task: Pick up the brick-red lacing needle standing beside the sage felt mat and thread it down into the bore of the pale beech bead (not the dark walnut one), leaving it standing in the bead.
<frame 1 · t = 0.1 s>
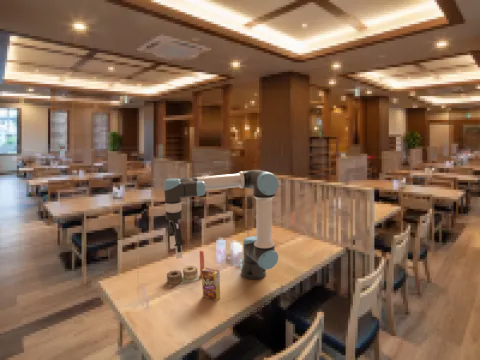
hand: (176, 252, 144), 28 cm above the table, fingers open, 13 cm apart
felt mat: (182, 279, 174), on the table
beech bead: (190, 276, 177), resting on felt mat
candy box: (211, 297, 155), on the table
needle: (202, 276, 178), on the table
walnut bead: (174, 281, 171), resting on felt mat
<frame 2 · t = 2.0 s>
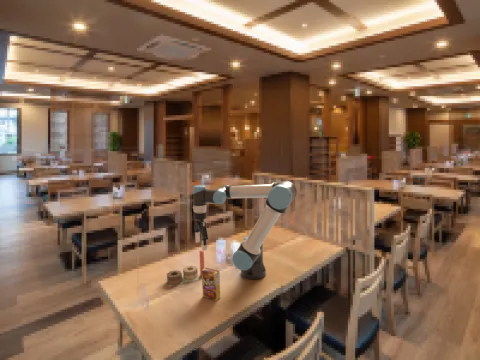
hand: (201, 246, 176), 19 cm above the table, fingers open, 13 cm apart
nothing on the table moved.
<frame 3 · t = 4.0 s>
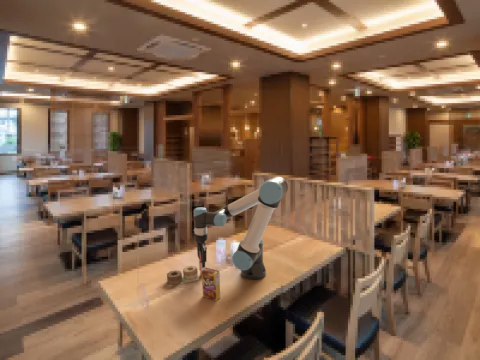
hand: (202, 270, 178), 4 cm above the table, fingers closed on needle, 2 cm apart
needle: (202, 276, 178), on the table, touching gripper
everything else where it was.
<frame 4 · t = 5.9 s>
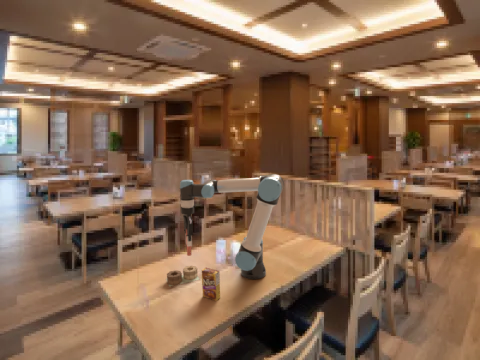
hand: (188, 244, 174), 20 cm above the table, fingers closed on needle, 2 cm apart
needle: (189, 254, 175), point 14 cm above the table, touching gripper
everything else where it was.
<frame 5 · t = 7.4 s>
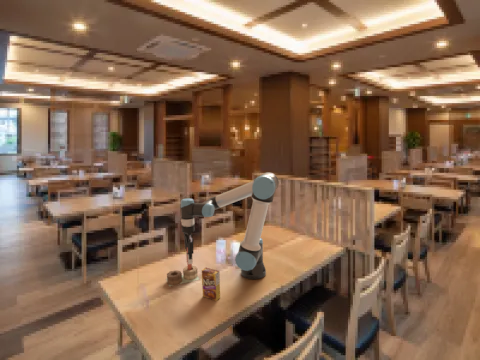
hand: (189, 262, 176), 9 cm above the table, fingers closed on needle, 2 cm apart
needle: (190, 272, 177), point 3 cm above the table, touching gripper
everything else where it was.
when the fingers open (7 cm above the table, at t = 8.1 s): needle stays where it is, resting on felt mat.
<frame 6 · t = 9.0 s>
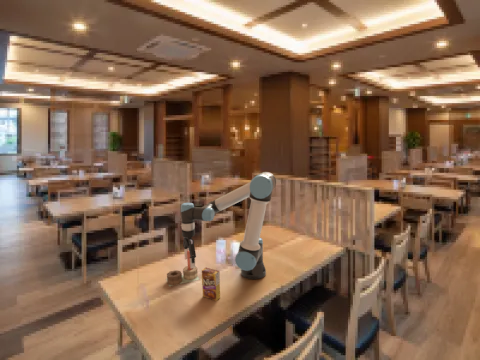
hand: (189, 263, 176), 9 cm above the table, fingers open, 13 cm apart
needle: (190, 276, 177), resting on felt mat
everything else where it was.
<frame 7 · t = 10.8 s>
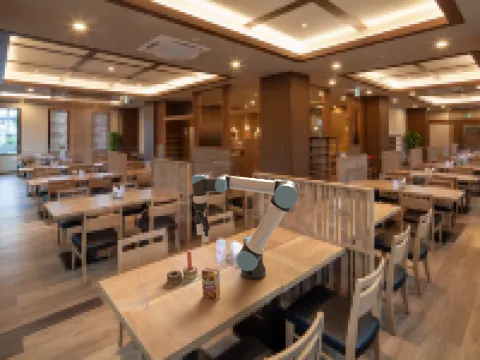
hand: (202, 238, 170), 26 cm above the table, fingers open, 13 cm apart
nothing on the table moved.
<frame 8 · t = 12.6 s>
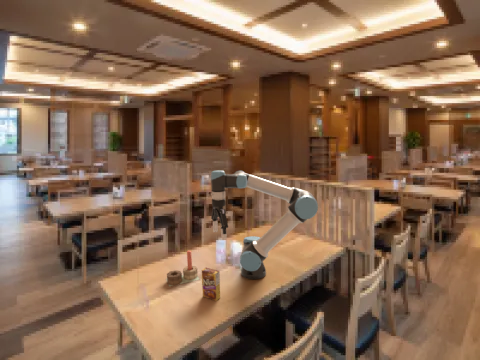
hand: (219, 235, 165), 29 cm above the table, fingers open, 13 cm apart
nothing on the table moved.
at the end: needle 0.1 cm off-centre on the beech bead, point 0.0 cm above the beech bead's base; needle tilted 0°; the gripper is holding nothing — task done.
